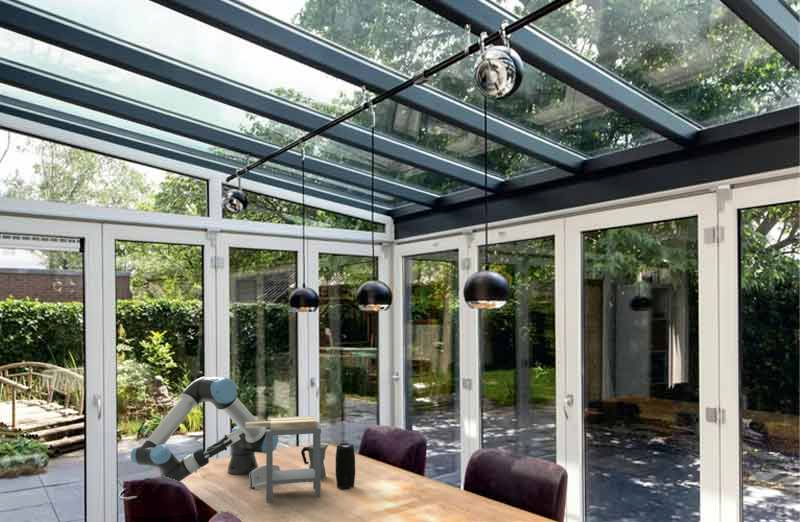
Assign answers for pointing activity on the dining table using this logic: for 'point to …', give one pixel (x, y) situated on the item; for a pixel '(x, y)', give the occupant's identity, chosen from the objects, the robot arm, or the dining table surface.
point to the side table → (296, 474)
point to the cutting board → (285, 423)
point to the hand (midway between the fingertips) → (240, 433)
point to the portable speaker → (345, 466)
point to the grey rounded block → (260, 477)
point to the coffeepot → (310, 451)
